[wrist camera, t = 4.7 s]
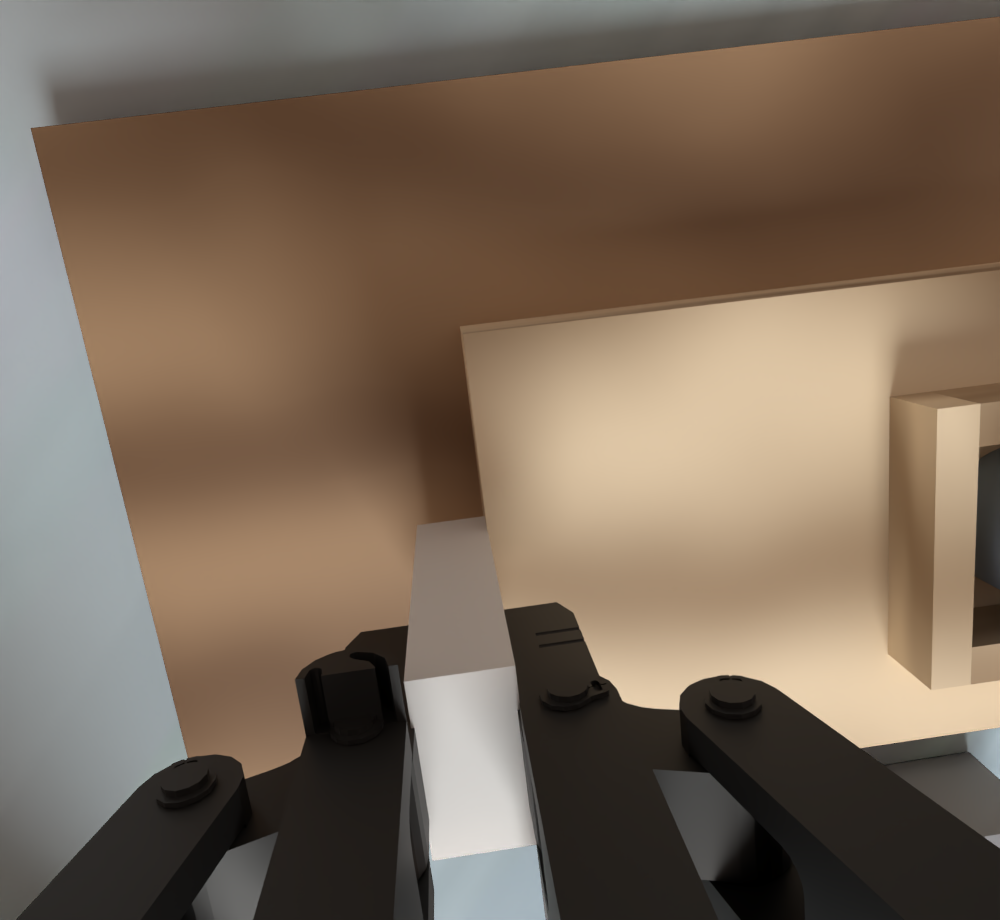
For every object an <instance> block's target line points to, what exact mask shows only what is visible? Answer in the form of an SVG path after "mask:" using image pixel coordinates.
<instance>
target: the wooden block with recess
mask: <svg viewBox="0 0 1000 920" xmlns="http://www.w3.org/2000/svg"><path fill="white" fill-rule="evenodd" d="M460 332H461V340H462V348H463V356H464V364H465V372H466V380H467V388H468V396H469V404H470V413H471V421H472V429H473V437H474V445H475V453H476V461H477V469H478V477H479V485H480V493H481V501H482V510H483V516H485V522H486V527H487V532H488V535H489V540H490V545H491V550H492V554H493V559H494V564H495V569H496V574H497V579H498V584H499V589H500V593H501V598H502V603H503V608H504V609H512V608H519V607H526V606H533V605H540V604H547V603H554V602H557V603H559V604H561V605H562V606H564V607H565V608H567V609H568V610H570V611H572V612H573V613H574V615H575V618H576V620H577V623H578V625H579V629H580V630H581V632H582V635H583V637H584V641H585V642H586V644H587V647H588V649H589V652H590V654H591V657H592V659H593V661H594V664H595V666H596V669H597V671H598V673H599V676H601V677H603V678H605V679H607V680H609V681H610V682H611V683H612V684H613V685H614V686H615V687H616V689H617V690H618V692H619V694H620V697H621V699H622V701H624V702H626V703H628V704H632V705H636V706H639V707H645V708H654V709H672V710H679V702H680V695H681V693H682V692H683V691H684V690H685V689H686V688H687V687H688V686H689V685H691V684H693V683H695V682H697V681H700V680H702V679H705V678H711V677H717V676H719V675H729V676H732V675H738V676H744V677H747V678H752V679H756V680H760V681H763V682H765V683H767V684H769V685H771V686H773V687H775V688H777V689H778V690H780V691H781V692H782V693H784V694H785V695H787V696H788V697H789V698H791V699H792V700H794V701H795V702H796V703H798V704H799V705H801V706H802V707H803V708H805V709H806V710H807V711H809V712H810V713H812V714H813V715H814V716H816V717H817V718H819V719H820V720H821V721H823V722H824V723H826V724H827V725H828V726H830V727H831V728H833V729H834V730H835V731H837V732H838V733H840V734H841V735H842V736H844V737H845V738H847V739H848V740H849V741H851V742H852V743H854V744H855V745H856V746H858V747H859V748H865V747H871V746H878V745H885V744H892V743H898V742H905V741H912V740H919V739H925V738H932V737H939V736H945V735H952V734H959V733H966V732H972V731H979V730H986V729H992V728H999V727H1000V590H999V589H997V588H996V587H994V586H992V585H990V584H988V583H986V582H984V581H983V580H981V579H979V578H977V577H975V576H974V575H975V547H976V519H977V491H978V463H979V459H981V458H982V457H984V456H985V455H987V454H988V453H990V452H992V451H994V450H997V449H999V448H1000V262H996V263H987V264H979V265H970V266H962V267H954V268H945V269H937V270H928V271H920V272H912V273H903V274H895V275H886V276H878V277H870V278H861V279H853V280H844V281H836V282H828V283H819V284H811V285H803V286H794V287H786V288H777V289H769V290H761V291H752V292H744V293H735V294H727V295H719V296H710V297H702V298H693V299H685V300H677V301H668V302H660V303H652V304H643V305H635V306H626V307H618V308H610V309H601V310H593V311H584V312H576V313H568V314H559V315H551V316H542V317H534V318H526V319H517V320H509V321H501V322H492V323H484V324H475V325H467V326H460Z"/></svg>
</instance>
